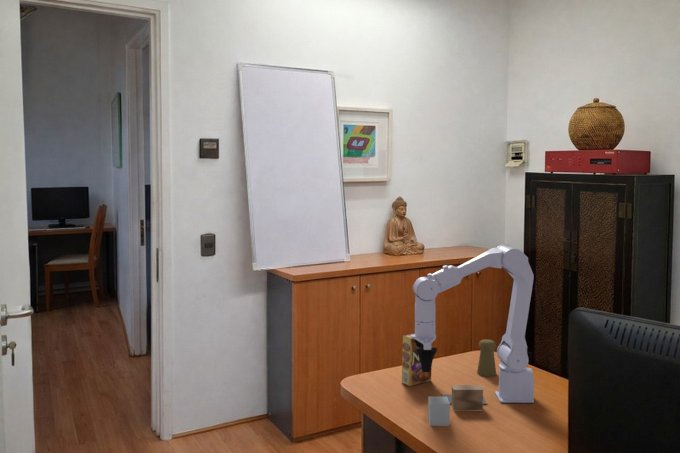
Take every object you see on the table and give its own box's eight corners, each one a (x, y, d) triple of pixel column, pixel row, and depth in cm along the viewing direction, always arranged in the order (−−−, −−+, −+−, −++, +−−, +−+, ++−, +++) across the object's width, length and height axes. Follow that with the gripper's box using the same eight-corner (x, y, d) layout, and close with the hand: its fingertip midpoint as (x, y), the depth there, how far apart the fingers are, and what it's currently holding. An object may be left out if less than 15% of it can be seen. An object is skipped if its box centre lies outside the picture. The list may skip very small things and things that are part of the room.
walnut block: (480, 406, 182) (480, 385, 181) (482, 410, 178) (483, 389, 177) (451, 405, 182) (451, 385, 181) (453, 410, 178) (453, 389, 178)
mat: (482, 395, 189) (482, 394, 189) (486, 404, 182) (487, 403, 182) (440, 395, 190) (440, 394, 190) (444, 404, 183) (444, 403, 183)
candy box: (410, 387, 196) (410, 338, 195) (401, 383, 200) (401, 334, 198) (432, 381, 201) (432, 333, 200) (423, 377, 205) (423, 330, 203)
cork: (473, 371, 210) (474, 338, 209) (490, 369, 212) (490, 336, 211) (483, 377, 204) (483, 343, 203) (500, 375, 206) (500, 341, 205)
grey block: (446, 418, 173) (447, 396, 173) (449, 426, 168) (449, 403, 168) (428, 418, 173) (428, 396, 173) (430, 426, 168) (430, 403, 168)
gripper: (409, 314, 190) (409, 359, 191) (412, 327, 175) (412, 375, 177) (433, 313, 190) (433, 359, 191) (438, 327, 175) (438, 375, 177)
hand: (425, 367), depth 184 cm, fingers open, 7 cm apart
